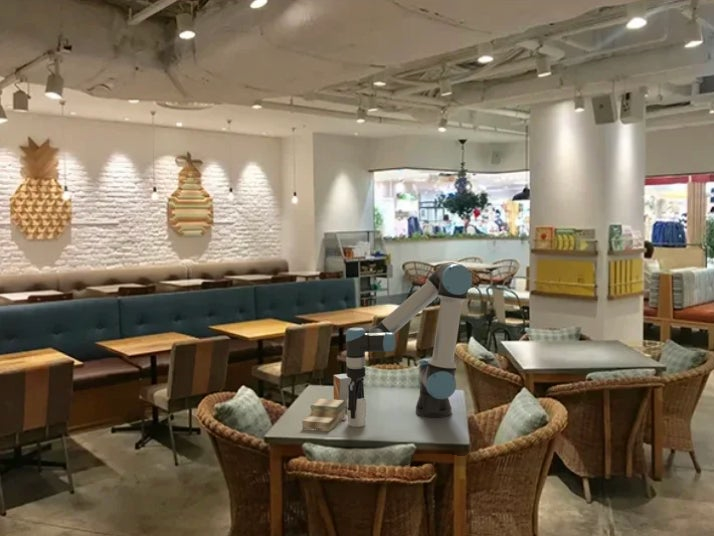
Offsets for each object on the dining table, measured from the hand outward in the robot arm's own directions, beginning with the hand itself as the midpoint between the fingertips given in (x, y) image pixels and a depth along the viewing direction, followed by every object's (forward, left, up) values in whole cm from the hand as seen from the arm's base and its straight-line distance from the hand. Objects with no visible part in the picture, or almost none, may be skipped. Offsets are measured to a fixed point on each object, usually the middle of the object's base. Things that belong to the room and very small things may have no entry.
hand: (356, 422), depth 261 cm
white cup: (0, 0, -1) cm, 1 cm away
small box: (+14, -26, -1) cm, 30 cm away
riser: (+14, +1, -1) cm, 14 cm away
